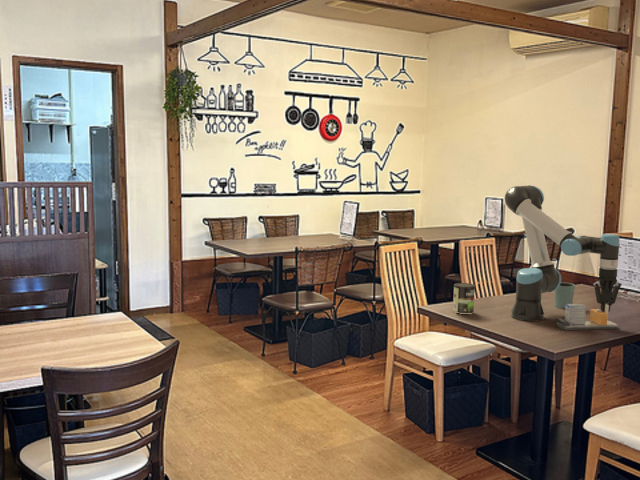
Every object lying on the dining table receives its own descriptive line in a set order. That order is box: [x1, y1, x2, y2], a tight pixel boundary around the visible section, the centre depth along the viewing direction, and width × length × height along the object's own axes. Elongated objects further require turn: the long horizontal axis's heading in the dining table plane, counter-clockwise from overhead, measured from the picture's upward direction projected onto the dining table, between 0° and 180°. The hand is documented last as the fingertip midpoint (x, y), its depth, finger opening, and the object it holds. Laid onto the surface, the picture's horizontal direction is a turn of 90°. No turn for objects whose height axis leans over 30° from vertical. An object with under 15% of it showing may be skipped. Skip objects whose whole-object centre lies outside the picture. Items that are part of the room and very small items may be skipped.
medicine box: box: [564, 303, 587, 324], centre depth 282 cm, size 8×4×9 cm, turn 94°
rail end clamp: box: [589, 308, 609, 325], centre depth 283 cm, size 3×9×6 cm, turn 6°
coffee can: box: [452, 282, 476, 314], centre depth 308 cm, size 10×10×14 cm
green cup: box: [553, 281, 576, 310], centre depth 320 cm, size 10×10×12 cm
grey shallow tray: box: [555, 317, 620, 331], centre depth 283 cm, size 26×9×3 cm, turn 96°
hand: (604, 318), depth 283 cm, fingers closed
